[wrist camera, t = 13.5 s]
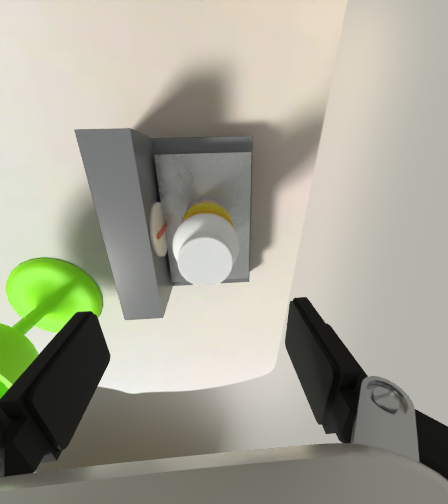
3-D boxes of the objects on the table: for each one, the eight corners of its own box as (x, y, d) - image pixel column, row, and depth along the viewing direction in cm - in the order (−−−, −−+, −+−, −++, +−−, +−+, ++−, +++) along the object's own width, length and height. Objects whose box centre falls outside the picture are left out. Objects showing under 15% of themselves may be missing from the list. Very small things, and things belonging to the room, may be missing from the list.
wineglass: (120, 309, 40) (57, 411, 23) (57, 343, 42) (-42, 458, 26) (55, 241, 34) (-90, 313, 18) (-14, 285, 36) (-201, 385, 20)
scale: (121, 141, 29) (74, 129, 19) (248, 138, 30) (268, 125, 20) (147, 278, 38) (124, 320, 28) (246, 273, 39) (259, 311, 28)
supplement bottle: (185, 195, 28) (166, 218, 16) (234, 202, 28) (252, 229, 16) (181, 242, 30) (163, 293, 18) (226, 248, 31) (237, 299, 19)
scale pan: (156, 155, 27) (154, 154, 26) (249, 152, 27) (251, 152, 26) (173, 278, 34) (172, 282, 32) (247, 274, 34) (248, 277, 33)
